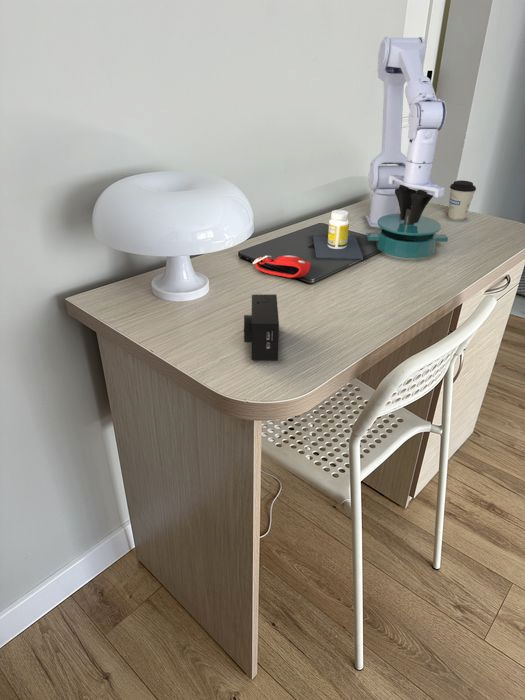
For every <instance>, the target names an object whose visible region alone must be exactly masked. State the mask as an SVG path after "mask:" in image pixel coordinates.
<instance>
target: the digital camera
mask: <svg viewBox="0 0 525 700" xmlns="http://www.w3.org/2000/svg"><path fill="white" fill-rule="evenodd" d="M277 297H278V296H277V294H274V293H273V294H252V295H251V314H244V315H243V343H251V361H254V362H255V361H256V362H257V361H279V341H280V340H279V337H280V336H279V335H280V321H279V308H278V298H277Z"/></svg>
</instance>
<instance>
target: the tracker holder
mask: <svg viewBox="0 0 525 700" xmlns="http://www.w3.org/2000/svg"><path fill="white" fill-rule="evenodd" d="M265 263H267V264H270V265H274V266H284V267H285V266H286V267H293V268H296V269H298V271H297V272H296V273H295V274H292V273H286V272H280V271H276V270H270V269H266V268H265V267H262V266H261V265H264V264H265ZM252 265H254V266H255V268H256V270H258V271H260V272H263V273H265V274H268V275H274V276H279V277H284V278H289V279H292V278H293V279H300V278H303V277H305V276H306V275H308V273H309V272H310V270H311V267H312V266H311V262H310V261H306V260H304V259H302V258H301V257H300V256H297V255H288V254H287V255H279V256H278V257H276V258H272V255H264V256H260V257H258V258H256V259H254V261H252Z"/></svg>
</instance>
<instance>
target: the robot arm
mask: <svg viewBox="0 0 525 700" xmlns="http://www.w3.org/2000/svg"><path fill="white" fill-rule="evenodd" d="M426 47H427V45H426V41H425V39H424V38H423V37H422V36H419V37H389V36H385V37H383V39H382V40H381V42H380V44H379V48H378V53H377V78H378V79H379V80H380V81H382V83H383V107H382V109H383V110H382V131H381V133H382V134H381V152H380V153H379V154H377V155H376V156H374V157H373V158H372V159H371V161H370V164H369V171H368V175H367V177H368V180H367V183H368V187H369V188H370V190H371V191H372V194H371V197H370V206H369V214H368V215H365V218H366V220H367V223H368V224H369V226H370V227H371V228H380V226H379V225H378V223H377V222H378V219H379V218H380V217H382V216H385V215H389V214H400V216H401V220H404V218H405V212H406V208H407V207H412V209H411V217H410V223H412V224H414V223H417V222H418V221H419V219H420V216H422V214H423V212H424V211H425V208H426V207H427V205H428V204H429V202H430V201H431V200H432V198H433V197H434V198H436V199H438V198H442V197H444V194H445V190H446V187H443V186H441V185H438V184H436V183H434V182H432V181H431V173H432V168H433V163H434V157H435V153H436V146H437V141H438V135H439V131H441V130H442V129H443V127H444V126H445V123H446V120H447V105H446V101H445V100H441V98H437V95H436V93H435V92H436V91H435V89H434V86H433V84H432V80H431V78H429V77H428V76H427V75H425V73H424V68H423V62H424V60H425V55H426ZM405 84H406V86H405ZM404 87H405V89H404ZM404 94H405V98H406V101H407V104H408V108H409V113H408V119H407V120H408V121H407V122H408V124H407V125H408V132H407V138H408V139H409V141H408V148H407V154H406V155H405V154H404V153H402V132H403V129H402V128H403V111H404Z"/></svg>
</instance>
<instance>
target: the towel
mask: <svg viewBox="0 0 525 700" xmlns="http://www.w3.org/2000/svg"><path fill="white" fill-rule="evenodd" d="M312 242H313V246H314V247H313V248H314V253H315V258H316V259H328V260H329V259H331V260H332V259H334V260H337V259H338V260H364V255H363V252H362V250H361V247H360V245H359V244H360V243H359V242H358V240H357V237H356V236H348V240H347V247H346V248H344V249H332V248H330V247H328V235H312Z"/></svg>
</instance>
